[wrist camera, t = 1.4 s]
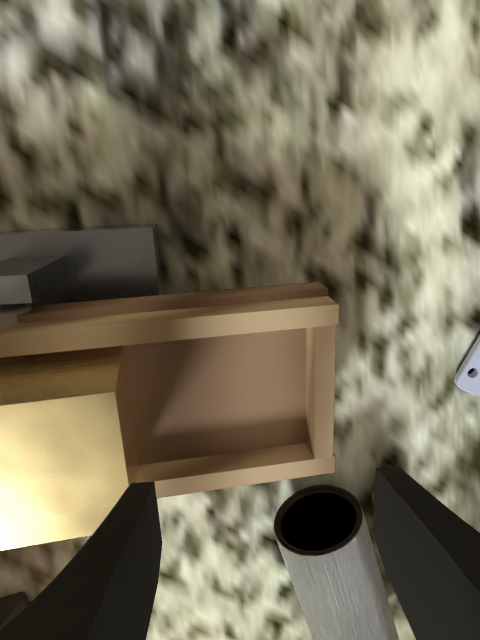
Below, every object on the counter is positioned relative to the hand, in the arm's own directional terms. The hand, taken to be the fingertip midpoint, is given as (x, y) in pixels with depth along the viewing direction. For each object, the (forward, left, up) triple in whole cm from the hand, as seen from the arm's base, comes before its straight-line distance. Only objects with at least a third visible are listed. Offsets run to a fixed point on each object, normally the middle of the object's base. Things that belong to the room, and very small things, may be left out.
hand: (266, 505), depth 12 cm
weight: (+3, -7, -6) cm, 9 cm away
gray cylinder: (+14, +13, -8) cm, 21 cm away
